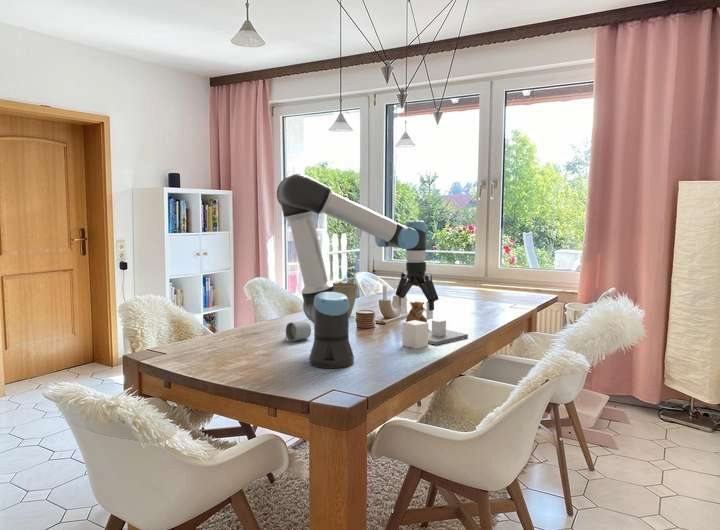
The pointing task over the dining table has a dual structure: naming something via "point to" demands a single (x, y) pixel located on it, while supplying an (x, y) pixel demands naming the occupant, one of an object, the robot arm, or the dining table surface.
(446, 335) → the post base
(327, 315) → the robot arm
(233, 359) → the dining table surface
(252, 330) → the dining table surface
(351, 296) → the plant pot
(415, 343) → the white rounded cube
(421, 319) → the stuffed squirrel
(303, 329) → the ceramic mug
